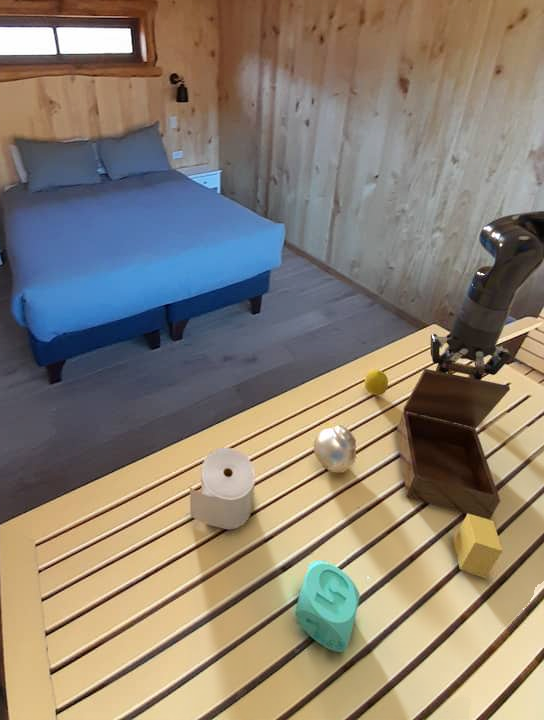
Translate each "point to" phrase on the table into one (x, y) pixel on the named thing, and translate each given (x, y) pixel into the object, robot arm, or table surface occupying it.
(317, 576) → the decorative dice
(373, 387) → the lemon
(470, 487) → the chest
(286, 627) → the table surface
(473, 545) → the block
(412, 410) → the lid
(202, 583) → the table surface
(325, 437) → the silver round lump
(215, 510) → the toilet tissue
